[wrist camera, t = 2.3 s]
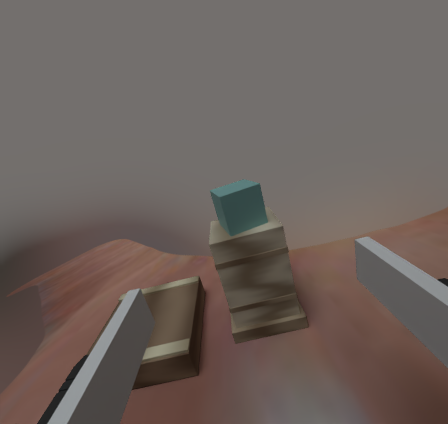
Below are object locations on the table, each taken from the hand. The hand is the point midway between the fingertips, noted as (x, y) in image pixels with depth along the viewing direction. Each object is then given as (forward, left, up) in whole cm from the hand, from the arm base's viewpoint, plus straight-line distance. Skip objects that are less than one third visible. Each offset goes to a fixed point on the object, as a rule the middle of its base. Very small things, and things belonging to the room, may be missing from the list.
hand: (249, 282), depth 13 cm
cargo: (-1, -10, 0) cm, 10 cm away
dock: (+13, -10, -12) cm, 21 cm away
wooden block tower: (-1, -10, -12) cm, 16 cm away
